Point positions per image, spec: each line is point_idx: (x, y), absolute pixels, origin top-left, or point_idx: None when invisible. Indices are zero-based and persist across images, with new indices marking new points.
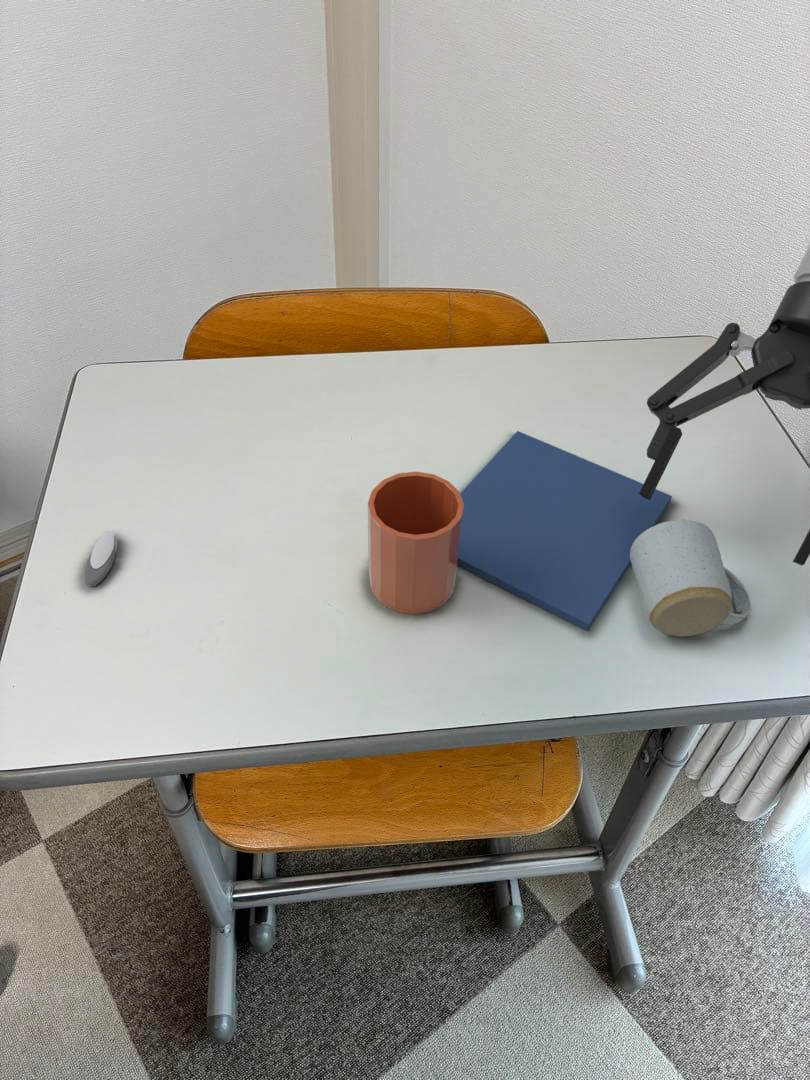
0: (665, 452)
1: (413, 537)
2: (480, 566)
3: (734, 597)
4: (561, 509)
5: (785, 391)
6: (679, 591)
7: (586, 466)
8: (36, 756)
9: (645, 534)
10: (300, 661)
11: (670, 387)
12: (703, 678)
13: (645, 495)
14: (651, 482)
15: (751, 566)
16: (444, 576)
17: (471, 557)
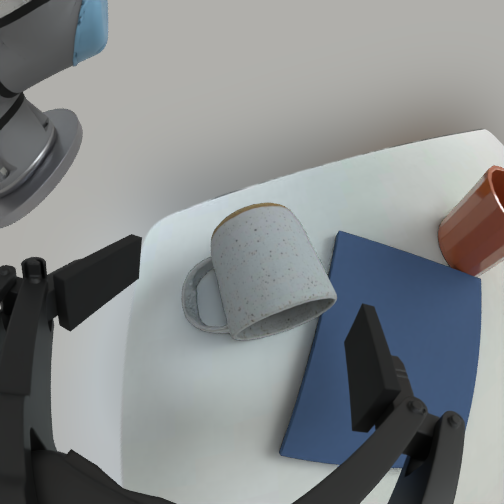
0: (380, 349)
1: (495, 166)
2: (438, 265)
3: (197, 312)
4: None
5: (122, 500)
6: (278, 206)
7: None
8: (487, 132)
9: (332, 288)
10: (465, 175)
11: (451, 455)
12: None
13: (365, 304)
14: (369, 315)
15: (175, 374)
16: (457, 209)
17: (447, 272)
